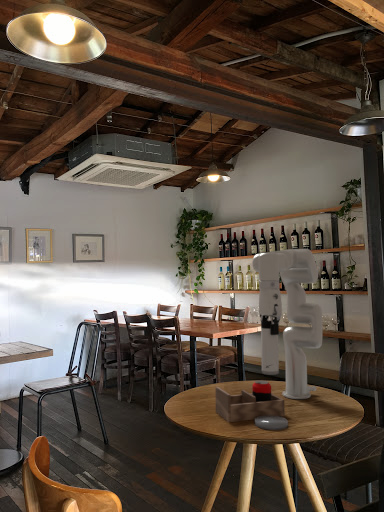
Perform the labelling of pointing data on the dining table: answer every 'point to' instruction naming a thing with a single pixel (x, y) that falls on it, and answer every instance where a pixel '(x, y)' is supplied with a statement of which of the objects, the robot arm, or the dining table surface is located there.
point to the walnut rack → (246, 406)
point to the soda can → (261, 391)
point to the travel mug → (269, 350)
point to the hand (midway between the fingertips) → (269, 333)
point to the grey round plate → (271, 422)
